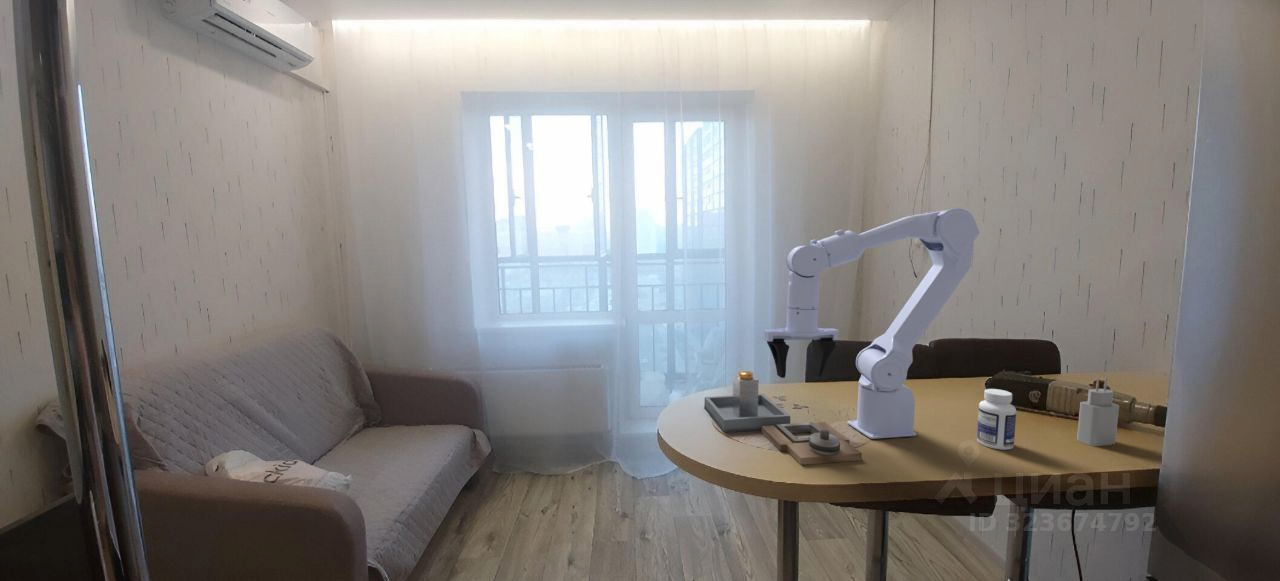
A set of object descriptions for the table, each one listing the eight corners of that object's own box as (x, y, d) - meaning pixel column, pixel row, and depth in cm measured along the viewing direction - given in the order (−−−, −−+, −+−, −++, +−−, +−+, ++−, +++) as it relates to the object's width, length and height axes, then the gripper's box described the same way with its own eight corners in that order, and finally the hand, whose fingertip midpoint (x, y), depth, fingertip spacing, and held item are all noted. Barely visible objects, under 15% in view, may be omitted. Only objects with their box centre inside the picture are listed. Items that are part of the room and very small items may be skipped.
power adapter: (1117, 444, 85) (1124, 379, 84) (1093, 446, 84) (1099, 381, 83) (1097, 437, 88) (1104, 374, 87) (1074, 439, 87) (1080, 376, 86)
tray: (762, 404, 106) (762, 393, 106) (790, 428, 93) (790, 415, 93) (704, 407, 104) (704, 397, 104) (723, 432, 91) (724, 420, 91)
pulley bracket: (824, 427, 93) (825, 406, 93) (868, 459, 79) (869, 434, 79) (761, 432, 91) (761, 410, 91) (794, 465, 78) (795, 440, 77)
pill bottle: (1006, 440, 87) (1010, 388, 86) (1018, 452, 82) (1023, 398, 81) (972, 436, 89) (975, 386, 88) (982, 448, 84) (986, 395, 83)
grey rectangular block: (750, 410, 101) (751, 369, 100) (757, 417, 97) (758, 375, 96) (732, 411, 100) (733, 370, 99) (739, 418, 96) (739, 376, 95)
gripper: (826, 304, 96) (823, 369, 98) (758, 305, 94) (756, 371, 95) (846, 309, 89) (842, 379, 91) (773, 310, 87) (770, 381, 89)
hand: (799, 375), depth 93 cm, fingers open, 7 cm apart
